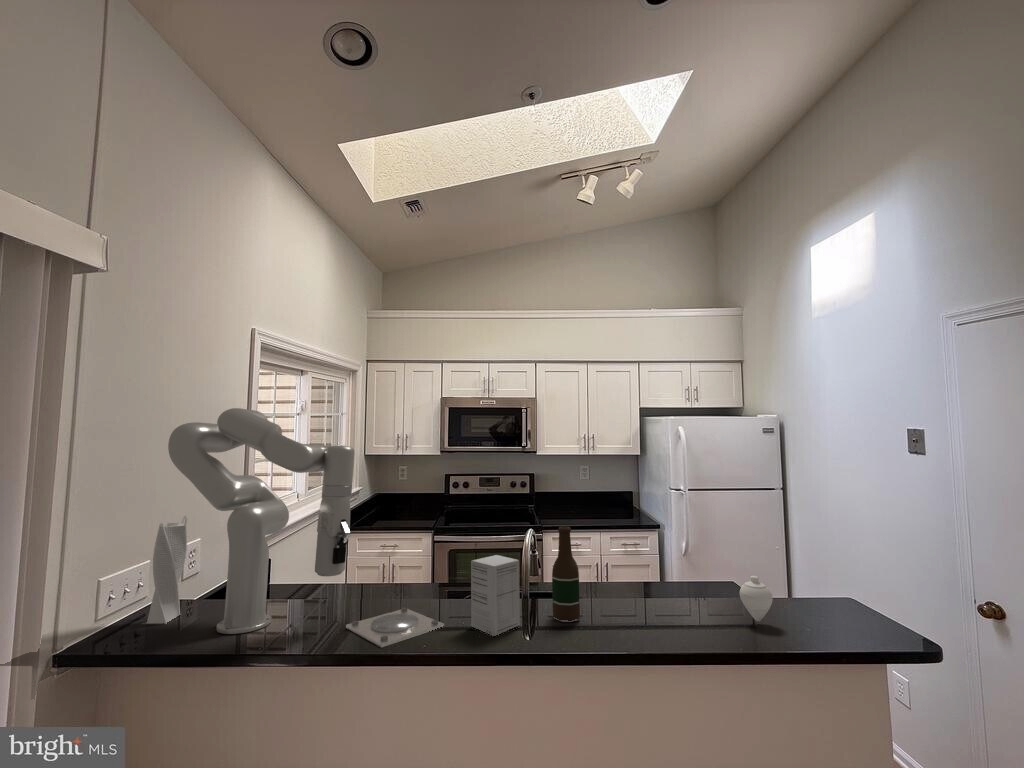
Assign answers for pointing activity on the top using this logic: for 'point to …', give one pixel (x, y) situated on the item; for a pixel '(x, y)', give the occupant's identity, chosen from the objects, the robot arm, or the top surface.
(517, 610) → the supplement box
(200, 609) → the top surface
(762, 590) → the spinning top
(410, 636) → the flange
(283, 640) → the top surface
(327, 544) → the can
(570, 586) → the beer bottle
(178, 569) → the skyscraper
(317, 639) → the top surface
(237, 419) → the robot arm
